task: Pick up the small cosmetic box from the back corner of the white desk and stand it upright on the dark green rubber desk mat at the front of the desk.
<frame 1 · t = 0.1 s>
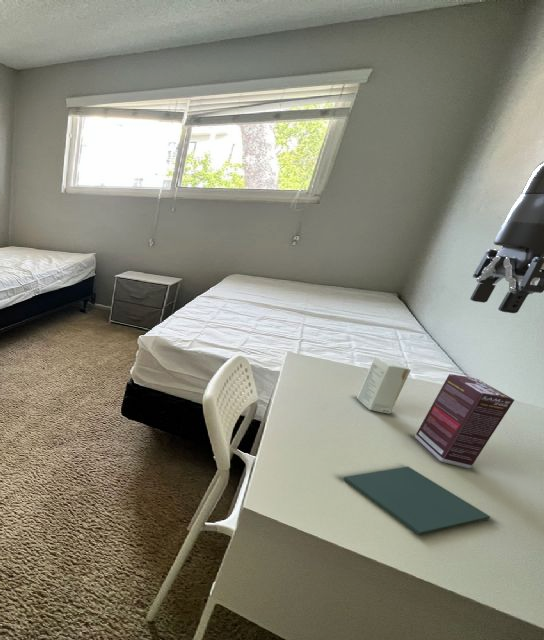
hand: (491, 306, 68), 30 cm above the table, tool pointing down, fingers open, 8 cm apart
desk mat: (412, 498, 59), on the table
cosmetic box: (371, 406, 88), on the table
supplement box: (440, 452, 72), on the table
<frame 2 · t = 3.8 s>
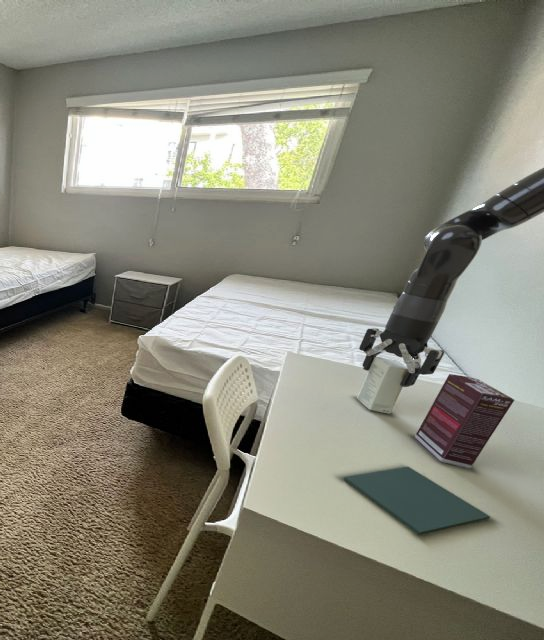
hand: (385, 377, 85), 8 cm above the table, tool pointing down, fingers closed on cosmetic box, 7 cm apart
cosmetic box: (371, 406, 88), on the table, touching gripper
everything else where it was.
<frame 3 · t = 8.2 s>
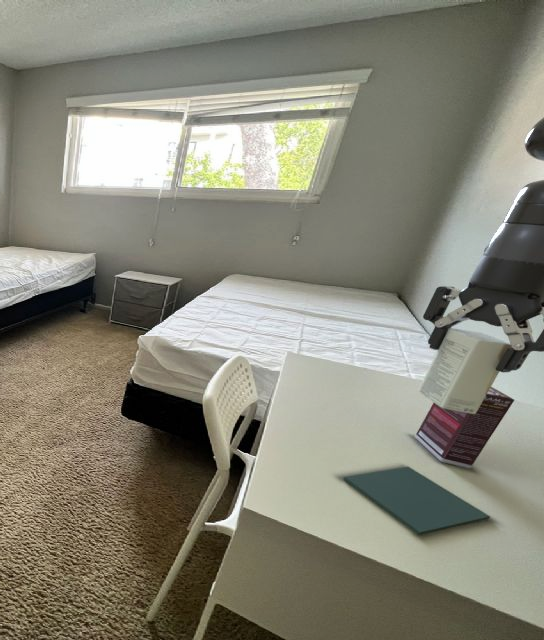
hand: (466, 359, 56), 24 cm above the table, tool pointing down, fingers closed on cosmetic box, 7 cm apart
cosmetic box: (443, 403, 59), point 16 cm above the table, touching gripper
everything else where it was.
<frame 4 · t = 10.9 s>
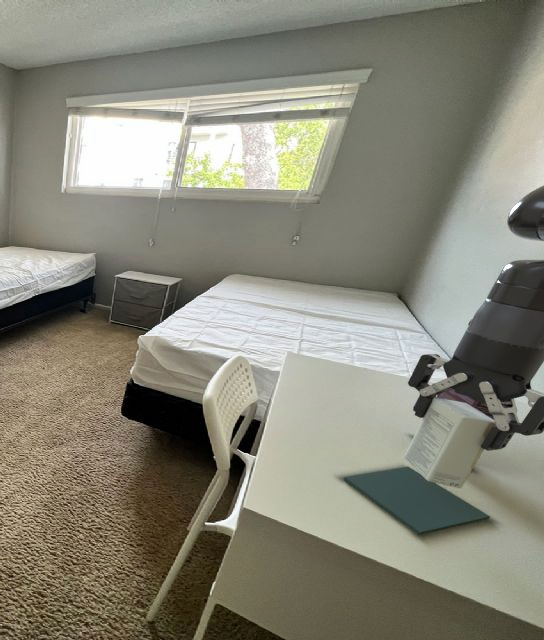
hand: (451, 431, 55), 14 cm above the table, tool pointing down, fingers closed on cosmetic box, 7 cm apart
cosmetic box: (428, 472, 57), point 6 cm above the table, touching gripper
everything else where it was.
when the fingers open (9 cm above the table, at t = 12.8 s): cosmetic box stays where it is, resting on desk mat.
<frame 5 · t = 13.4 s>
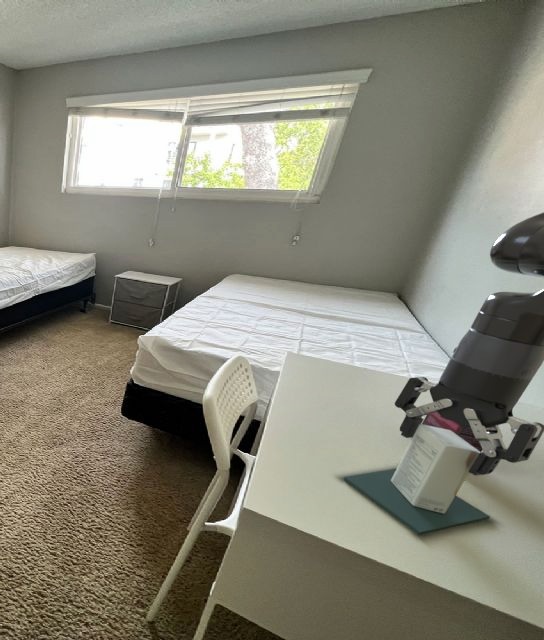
hand: (438, 453, 56), 10 cm above the table, tool pointing down, fingers open, 8 cm apart
cosmetic box: (414, 496, 59), resting on desk mat
everything else where it was.
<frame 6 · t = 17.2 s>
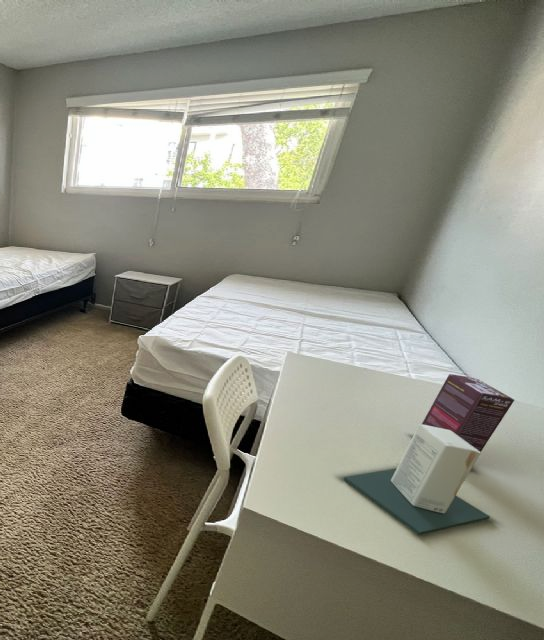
nothing on the table moved.
at the end: cosmetic box inside the target area on the desk mat (0.2 cm from its centre), point 0.4 cm above the desk mat's base; cosmetic box tilted 0°; the gripper is holding nothing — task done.
